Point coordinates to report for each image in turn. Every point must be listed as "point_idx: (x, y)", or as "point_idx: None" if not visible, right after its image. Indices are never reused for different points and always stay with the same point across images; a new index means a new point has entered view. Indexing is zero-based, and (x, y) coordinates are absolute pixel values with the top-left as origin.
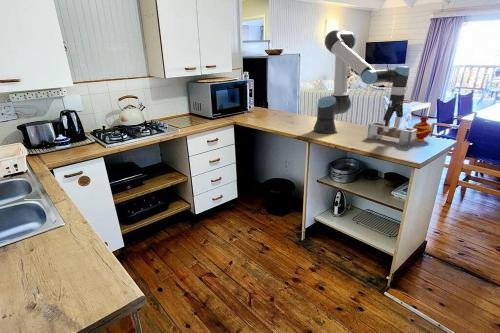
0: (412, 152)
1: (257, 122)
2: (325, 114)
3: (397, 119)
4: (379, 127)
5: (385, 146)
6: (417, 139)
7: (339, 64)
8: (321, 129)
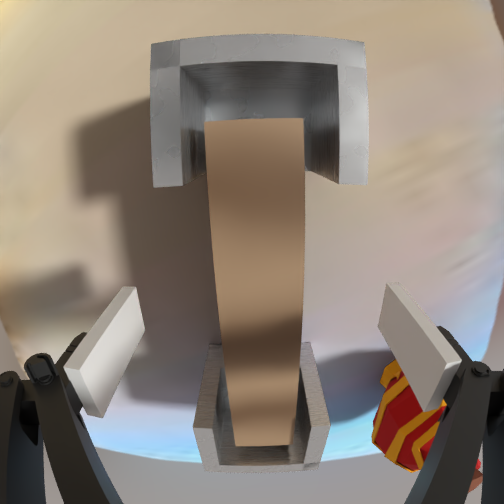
0: (143, 419)
1: None
2: None
3: (420, 368)
4: (208, 185)
5: (105, 304)
6: (390, 374)
7: None
8: None
